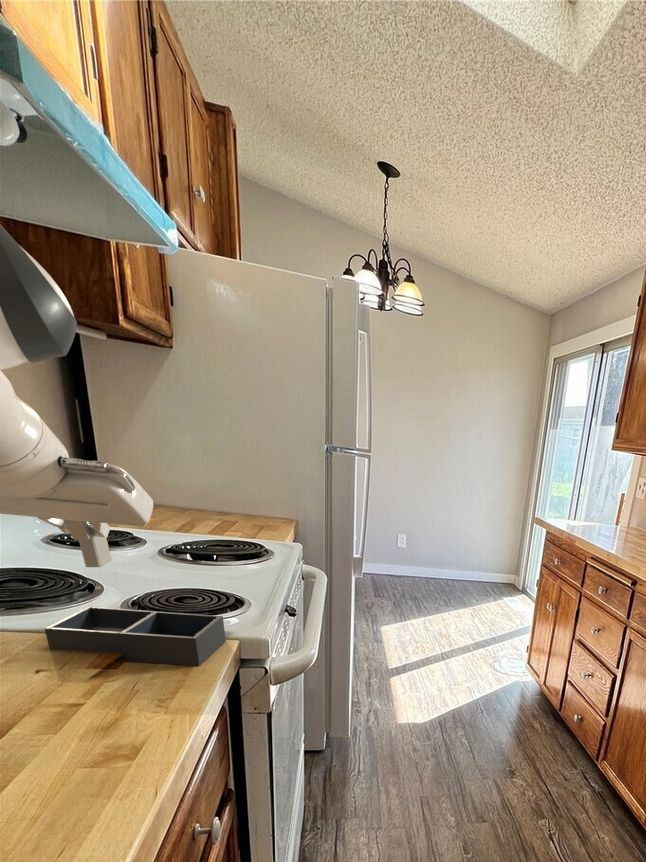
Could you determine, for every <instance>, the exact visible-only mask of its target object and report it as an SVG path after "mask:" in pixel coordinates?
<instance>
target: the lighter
mask: <svg viewBox="0 0 646 862" xmlns="http://www.w3.org/2000/svg"><path fill="white" fill-rule="evenodd" d="M63 521H64V522H65V524H66V526H67V528H68V530H69V532H70V534H69V535H70V536H71V538H72V539H73V540H74V541H78V543H79V547H80V551H81V554H82V558H83V561H84V566H85V568H102V567H104V566H105V565H107V564H108V563H110V562H112V560H113V559H112V554H111V551H110V546H109V542H108V539H107V538H108V537H96V536H93V535H92V533H90V531H89V530H88V527H89V526H88V525H90V523H88V522H85V521H75V520H64V519H63Z"/></svg>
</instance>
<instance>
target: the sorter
mask: <svg viewBox="0 0 646 862" xmlns="http://www.w3.org/2000/svg"><path fill="white" fill-rule="evenodd" d="M94 628H106V629H107V628H108V629H122V631H111V630H98V629H97V630H96V629H94ZM225 631H226V630H225V623H224V616H223V615H212V614H197V613H184V612H169V611H158V610H157V611H155V610H145V609H144V610H143V609H128V608H114V607H101V606H86V607H85V608H83V609H80V610H79V611H76V612H74V613H73V614H70V615H69V616H66V617H64V618H63V619H61V620H58V621H57V622H55V623H52V624H50V625H49V626H47V627H44V632H45V637H46V640H47V644H48V645H47V646H48V648H49V650H57V651H72V652H87V653H88V652H89V653H105V654H106V653H107V654H119V655H120V654H121V655H120V656H118V657H117V658H116V659H114V660H113V662H126V663H141V664H142V663H144V664H158V665H159V664H160V665H161V664H162V665H174V666H175V665H178V666H190V667H191V666H193V667H201V665H202V664H203V663H204V662H205V661H207V660H208V659H209V658H210V657H211V656H212V655H213V654H214V653H215V652H216V651H217V650H218V649H219V648H221V646H222V645H224V643H225V642H227V639H226V632H225Z"/></svg>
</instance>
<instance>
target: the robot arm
mask: <svg viewBox="0 0 646 862" xmlns="http://www.w3.org/2000/svg"><path fill="white" fill-rule="evenodd" d="M77 327H78V322H77V320H76V318H75V315H74V311H73V309H72V306H71V304H70V303H69V301H68V299H67V297H66V296H65V294H64V293H63V291H62V289H61V288H60V286H59V285H58V284H57V283H56V281H55V279H53V278H52V276H51V275H50V274H49V273H48V271H47V270H46V269H45V268H44V267H43V266H42V265H41V264H40V263H39V262H38V261H37V260H36V259H34V257H33V256H32V255H30V254H29V253H28V251H26V250H25V249H24V247H22V246H21V245H20V244H18V242H17V241H16V239H14V238H13V237H12V235H11V234H10V233H9V232H8V231H7V230H6V229H5V228H4V227H3V226H2V224H1V223H0V514H1V515H11V516H21V517H33V518H37V519H38V520H41V521H43V522H44V523H47V524H49V525H52V526H54V527H56V528H58V529H59V530H60V531H61V532H62V533H63V534H64V535H71V534H70V532H69V530H68V528H67V526H66V524H65V522H64V521H63V519H64V520H75V521H85V522H88V523H90V525H88V526H89V527H88V530H89V531H90V533H92V535H93V536H96V537H106V538H108V537H109V533H110V530H111V528H110V525H119V526H130V527H132V526H133V527H141V528H142V527H146V526H147V524H148V523H149V522H150V520H151V517H152V515H153V510H154V500H153V498H152V497H151V496H150V495H149V494H148V492H147V491H146V490H145V489H144V488H143V486H142V485H141V484H139V483H138V481H137V480H136V479H134V477H133V476H131V474H129V473H128V472H127V471H126V470H124V469H123V468H121V467H120V466H118V465H115V464H112V463H108V462H105V461H101V460H85V459H81V458H74V457H70V455H69V452H68V450H67V448H66V447H65V445H64V444H63V443H62V442H61V440H60V439H59V438H58V437H57V436H56V434H55V433H54V432H53V431H52V430H51V428H50V427H49V426H48V425H47V424H46V423H45V421H44V420H43V419H42V417H41V416H40V415H39V414H38V413H37V412H36V411H35V409H34V408H33V407H31V406H30V405H29V404H27V403H26V402H25V401H24V400H22V399H21V398H20V397H19V396H18V395H17V394H16V392H15V389H14V386H13V385H12V383H11V381H10V379H9V378H8V377H7V376H6V375H5V374H4V372H3V371H5V370H8V369H11V368H14V367H17V366H21V365H24V364H26V363H27V364H28V363H32V364H33V363H38V362H42V361H47V360H48V361H49V360H52V359H57V358H62V357H66V356H67V355H68V353H69V351H70V349H71V347H72V344H73V343H74V340H75V336H76V332H77Z"/></svg>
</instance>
